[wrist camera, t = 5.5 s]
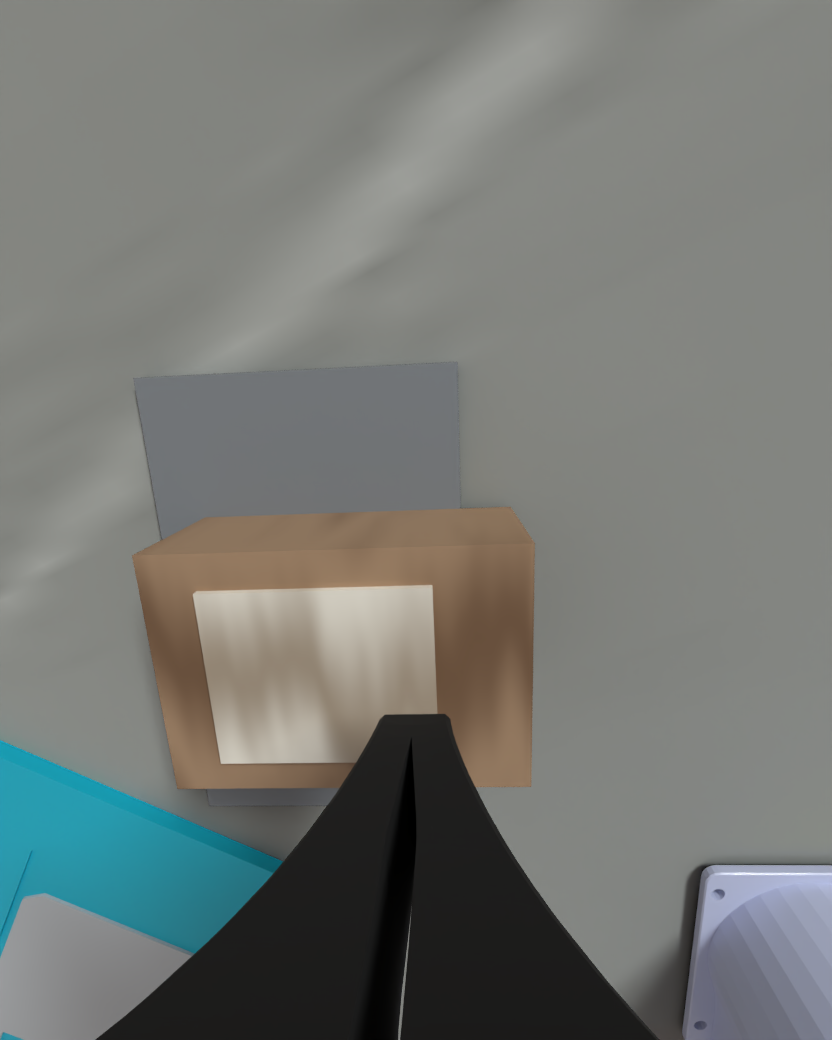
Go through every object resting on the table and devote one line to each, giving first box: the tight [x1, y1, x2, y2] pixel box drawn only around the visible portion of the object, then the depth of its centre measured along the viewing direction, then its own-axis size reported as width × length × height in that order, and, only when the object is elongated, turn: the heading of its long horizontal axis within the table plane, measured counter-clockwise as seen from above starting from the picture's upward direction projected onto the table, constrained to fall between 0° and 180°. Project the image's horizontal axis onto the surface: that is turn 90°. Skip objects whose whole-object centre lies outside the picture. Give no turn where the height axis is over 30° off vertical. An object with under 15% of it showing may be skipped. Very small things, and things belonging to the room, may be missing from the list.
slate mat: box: [133, 362, 461, 806], centre depth 17 cm, size 16×10×1 cm, turn 3°
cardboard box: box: [132, 507, 535, 789], centre depth 15 cm, size 7×4×10 cm
